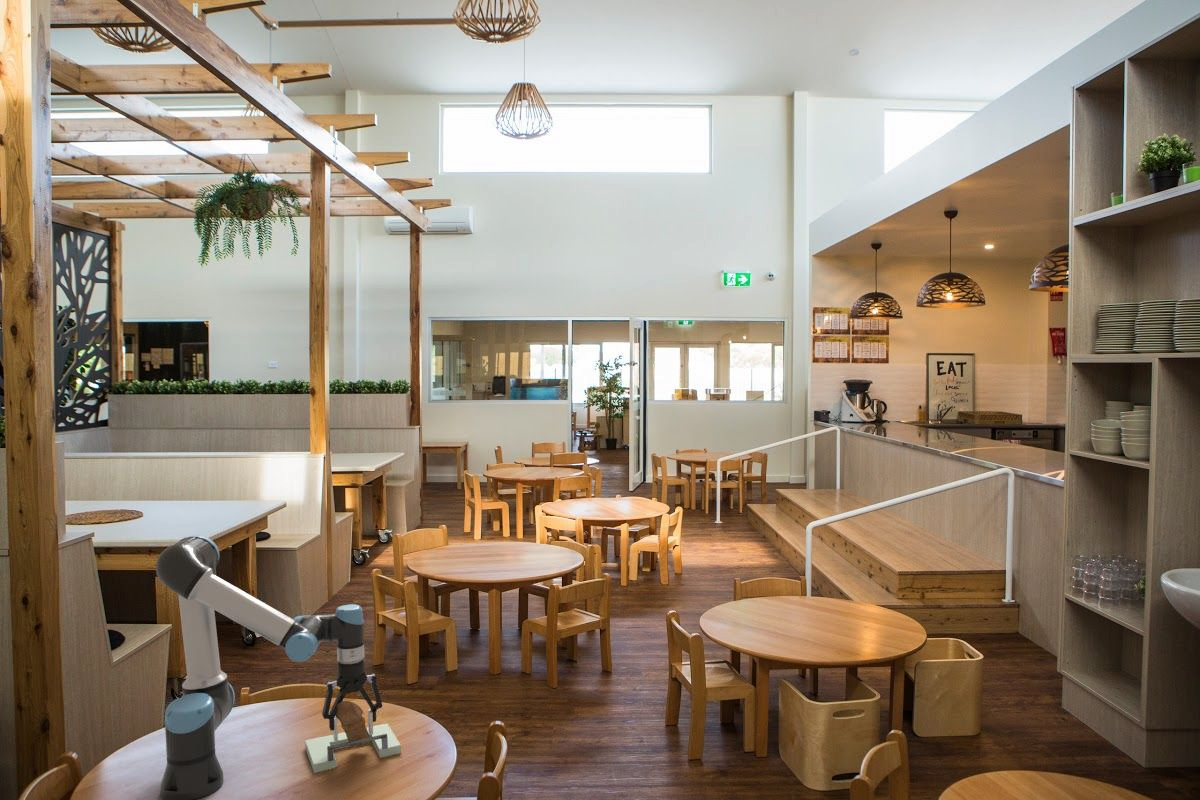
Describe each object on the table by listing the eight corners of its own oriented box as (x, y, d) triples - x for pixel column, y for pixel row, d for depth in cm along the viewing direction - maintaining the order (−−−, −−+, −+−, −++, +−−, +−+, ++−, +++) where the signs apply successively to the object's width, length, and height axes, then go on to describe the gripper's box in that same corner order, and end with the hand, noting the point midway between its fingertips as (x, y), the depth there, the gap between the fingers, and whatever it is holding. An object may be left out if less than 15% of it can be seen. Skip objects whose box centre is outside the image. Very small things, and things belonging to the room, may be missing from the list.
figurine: (372, 741, 245) (371, 691, 245) (361, 754, 237) (360, 702, 237) (344, 740, 246) (343, 690, 246) (332, 753, 238) (331, 701, 238)
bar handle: (328, 761, 232) (327, 747, 232) (327, 759, 234) (327, 745, 233) (387, 748, 240) (387, 734, 240) (386, 746, 241) (386, 732, 241)
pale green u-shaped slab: (314, 772, 231) (313, 764, 231) (305, 748, 246) (305, 740, 246) (401, 753, 242) (400, 744, 242) (387, 730, 257) (387, 723, 257)
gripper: (313, 670, 233) (315, 750, 234) (392, 657, 243) (394, 733, 244) (309, 662, 239) (311, 739, 240) (386, 649, 249) (388, 723, 250)
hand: (353, 736), depth 242 cm, fingers closed on figurine, 9 cm apart
